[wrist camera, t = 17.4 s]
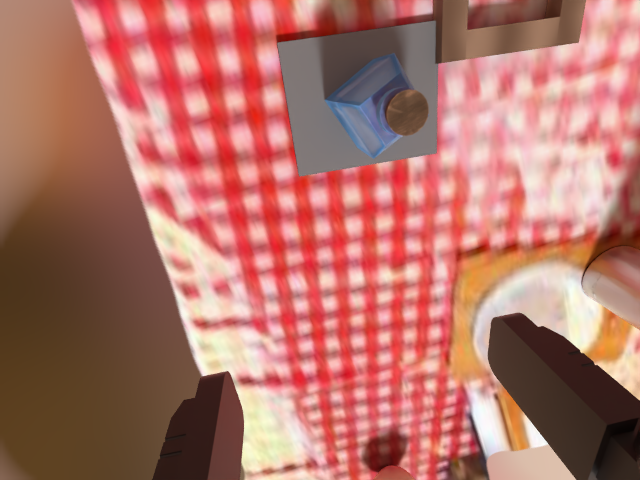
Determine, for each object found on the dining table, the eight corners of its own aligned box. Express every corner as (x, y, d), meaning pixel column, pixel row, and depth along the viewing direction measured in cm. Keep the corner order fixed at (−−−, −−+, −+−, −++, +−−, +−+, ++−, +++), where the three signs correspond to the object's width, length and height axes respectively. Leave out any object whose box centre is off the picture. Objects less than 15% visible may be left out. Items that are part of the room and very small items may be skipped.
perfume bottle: (373, 59, 33) (423, 44, 22) (404, 111, 36) (462, 121, 25) (324, 99, 34) (349, 105, 23) (357, 148, 37) (394, 173, 26)
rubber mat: (436, 21, 33) (438, 20, 33) (434, 152, 39) (436, 153, 38) (277, 43, 32) (277, 42, 31) (298, 175, 38) (299, 176, 37)
